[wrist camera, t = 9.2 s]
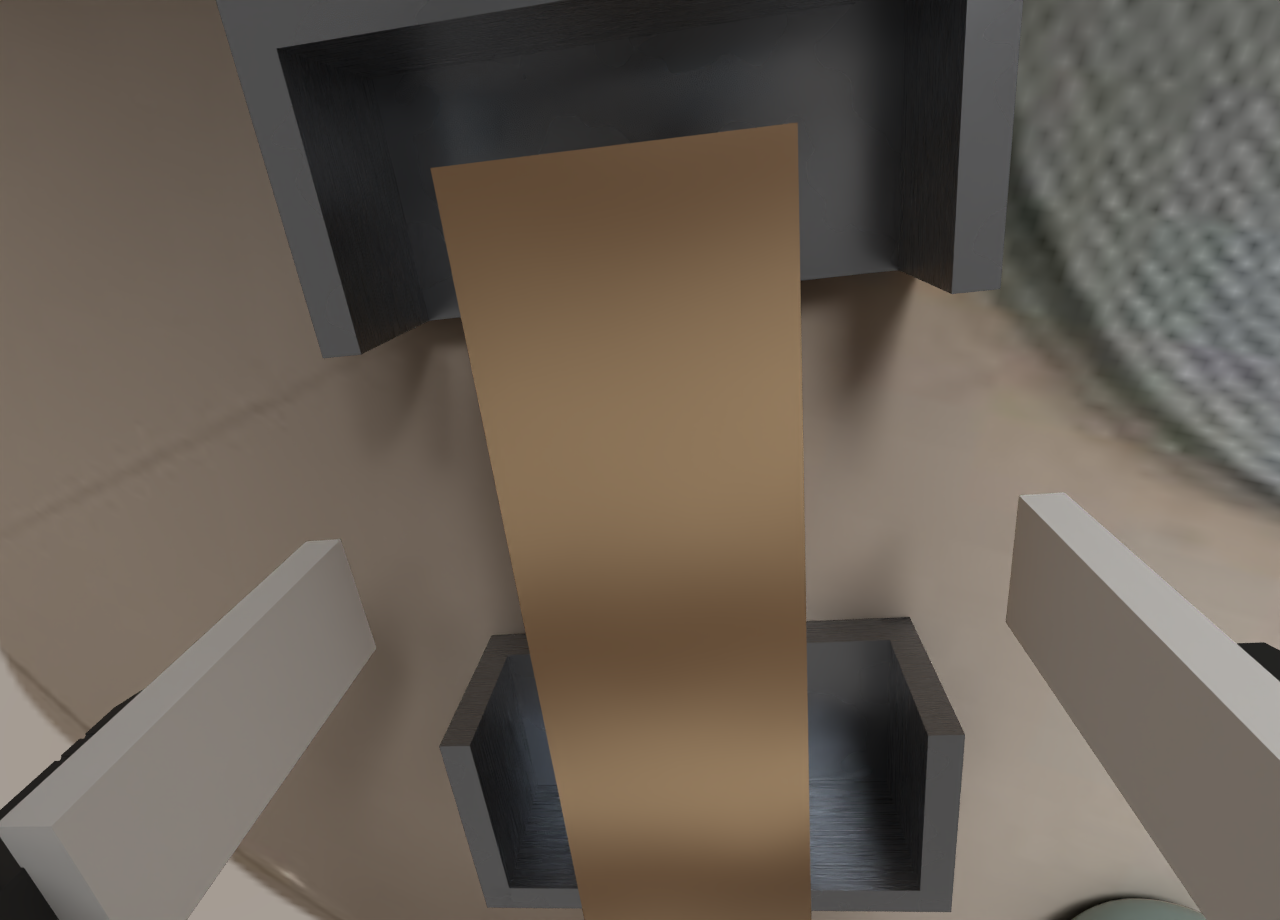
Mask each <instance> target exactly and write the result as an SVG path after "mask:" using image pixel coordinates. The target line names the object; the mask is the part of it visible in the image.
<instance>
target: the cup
mask: <svg viewBox="0 0 1280 920" xmlns="http://www.w3.org/2000/svg"><path fill="white" fill-rule="evenodd" d="M1071 920H1206V918H1205V917H1204V915H1203V914H1202V913H1201V912H1199V911H1197V910H1194V909H1191V908H1189V907H1186V906H1183V905H1180V904H1175V903H1171V902H1167V901H1161V900H1154V899H1145V898H1125V899H1118V900H1112V901H1108V902H1104V903H1101V904H1098V905H1095V906H1093V907H1091V908H1089V909H1087V910H1085V911H1083V912H1081V913H1080V914H1078V915H1077V916H1075V917H1074V918H1073V919H1071Z"/></svg>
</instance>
